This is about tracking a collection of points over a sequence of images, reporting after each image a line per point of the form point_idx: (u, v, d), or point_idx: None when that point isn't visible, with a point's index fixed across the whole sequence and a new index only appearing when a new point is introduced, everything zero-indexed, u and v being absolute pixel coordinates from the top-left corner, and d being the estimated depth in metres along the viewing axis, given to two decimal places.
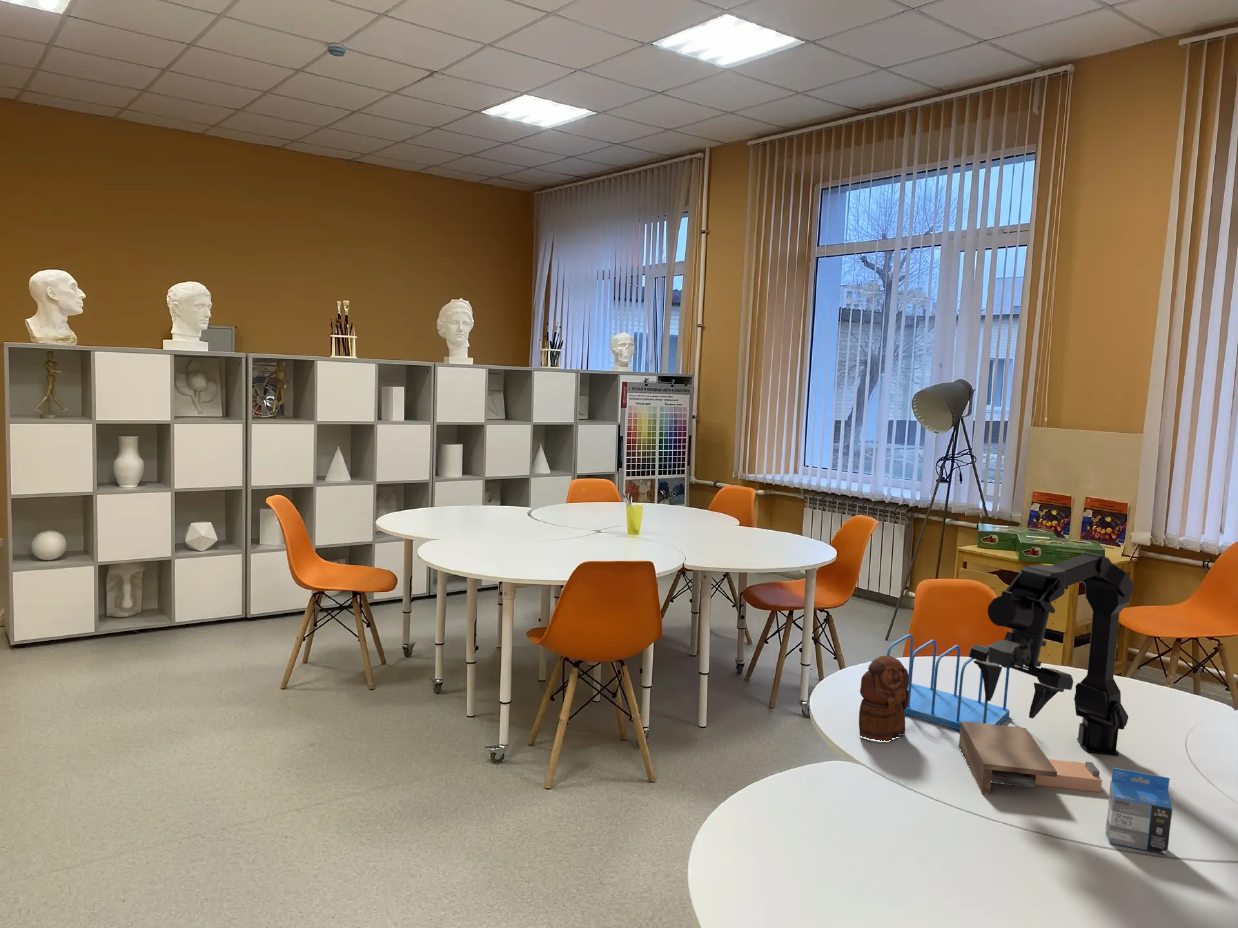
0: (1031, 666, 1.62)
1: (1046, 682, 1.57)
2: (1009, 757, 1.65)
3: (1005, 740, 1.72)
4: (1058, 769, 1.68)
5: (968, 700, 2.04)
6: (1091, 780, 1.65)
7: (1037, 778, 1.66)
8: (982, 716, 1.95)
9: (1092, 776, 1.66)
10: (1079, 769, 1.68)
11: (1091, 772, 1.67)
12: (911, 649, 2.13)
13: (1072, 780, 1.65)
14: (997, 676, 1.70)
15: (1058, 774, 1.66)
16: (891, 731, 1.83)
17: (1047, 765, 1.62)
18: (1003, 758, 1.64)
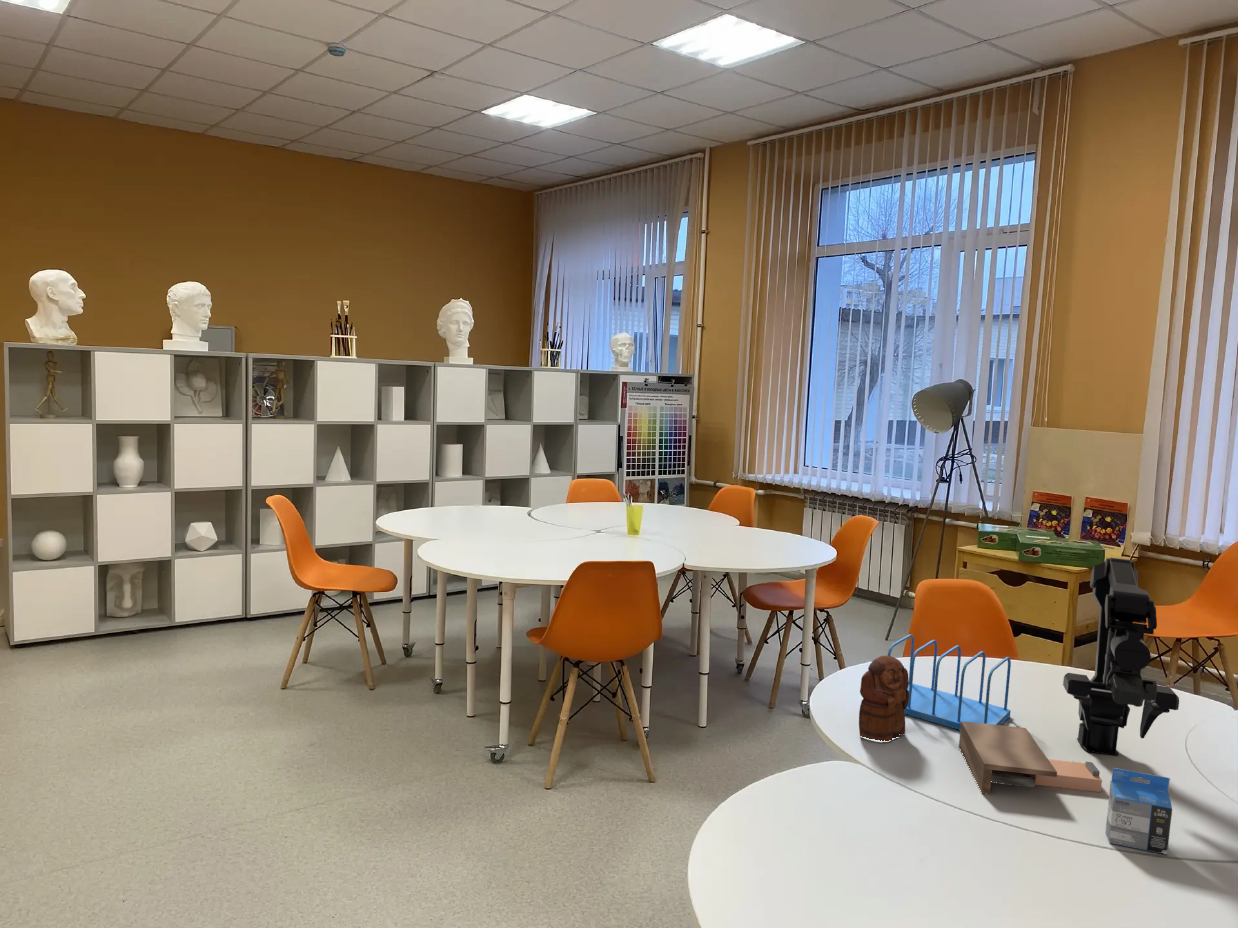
0: None
1: (1168, 706, 1.58)
2: (1009, 757, 1.65)
3: (1005, 740, 1.72)
4: (1058, 769, 1.68)
5: (969, 700, 2.04)
6: (1091, 780, 1.65)
7: (1037, 778, 1.66)
8: (983, 716, 1.94)
9: (1092, 776, 1.66)
10: (1079, 769, 1.68)
11: (1091, 772, 1.67)
12: (912, 649, 2.13)
13: (1072, 780, 1.65)
14: None
15: (1058, 774, 1.66)
16: (891, 731, 1.83)
17: (1047, 765, 1.62)
18: (1003, 758, 1.64)
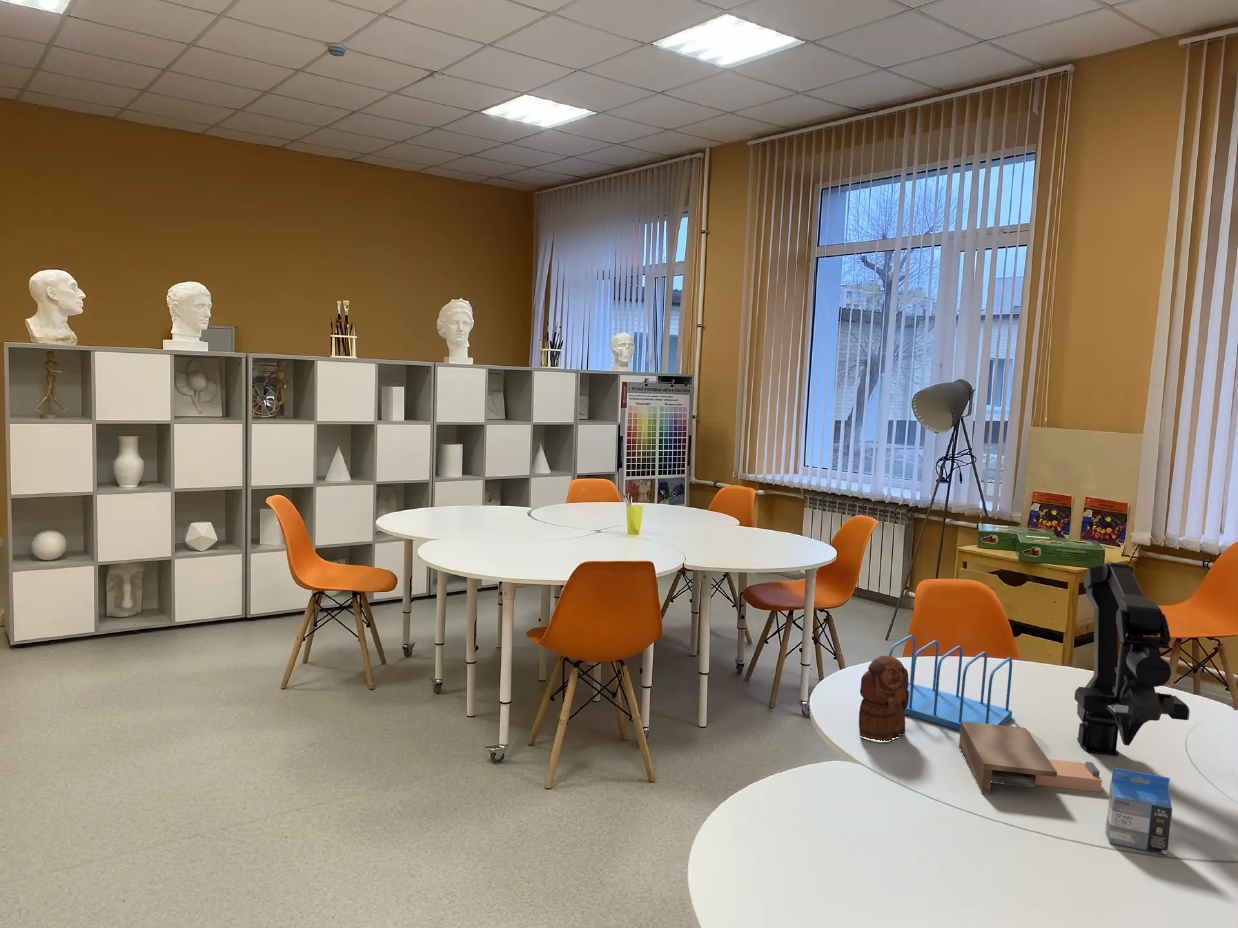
0: None
1: (1179, 717, 1.61)
2: (1009, 757, 1.65)
3: (1005, 740, 1.72)
4: (1058, 769, 1.68)
5: (970, 701, 2.04)
6: (1091, 780, 1.65)
7: (1037, 778, 1.66)
8: (984, 717, 1.94)
9: (1092, 776, 1.66)
10: (1079, 769, 1.68)
11: (1091, 772, 1.67)
12: (913, 650, 2.13)
13: (1072, 780, 1.65)
14: None
15: (1058, 774, 1.66)
16: (891, 731, 1.83)
17: (1047, 765, 1.62)
18: (1003, 758, 1.64)
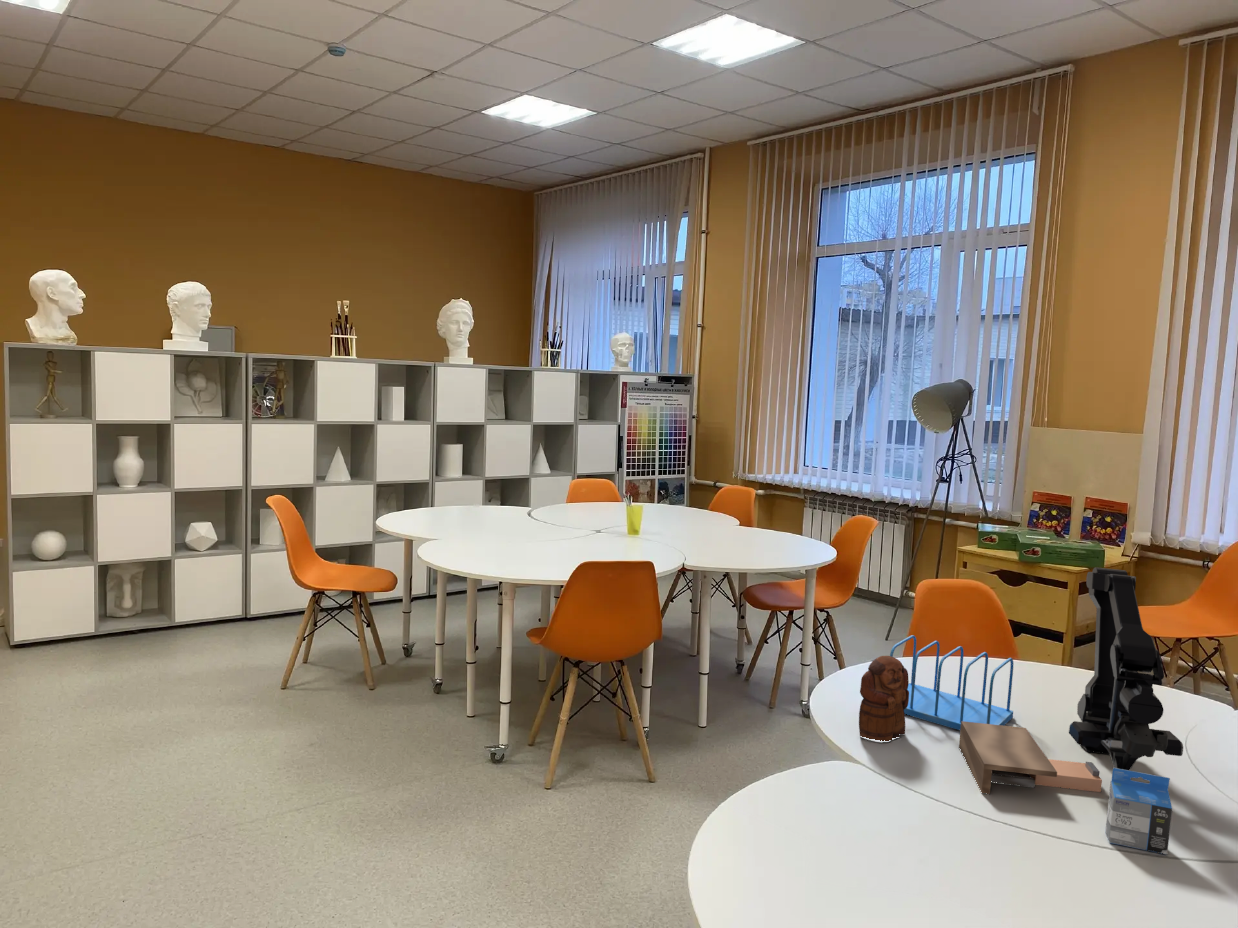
0: None
1: (1173, 753, 1.62)
2: (1009, 757, 1.65)
3: (1005, 740, 1.72)
4: (1058, 769, 1.68)
5: (971, 701, 2.04)
6: (1091, 780, 1.65)
7: (1037, 778, 1.66)
8: (986, 717, 1.94)
9: (1092, 776, 1.66)
10: (1079, 769, 1.68)
11: (1091, 772, 1.67)
12: (914, 650, 2.12)
13: (1072, 780, 1.65)
14: None
15: (1058, 774, 1.66)
16: (891, 731, 1.83)
17: (1047, 765, 1.62)
18: (1003, 758, 1.64)
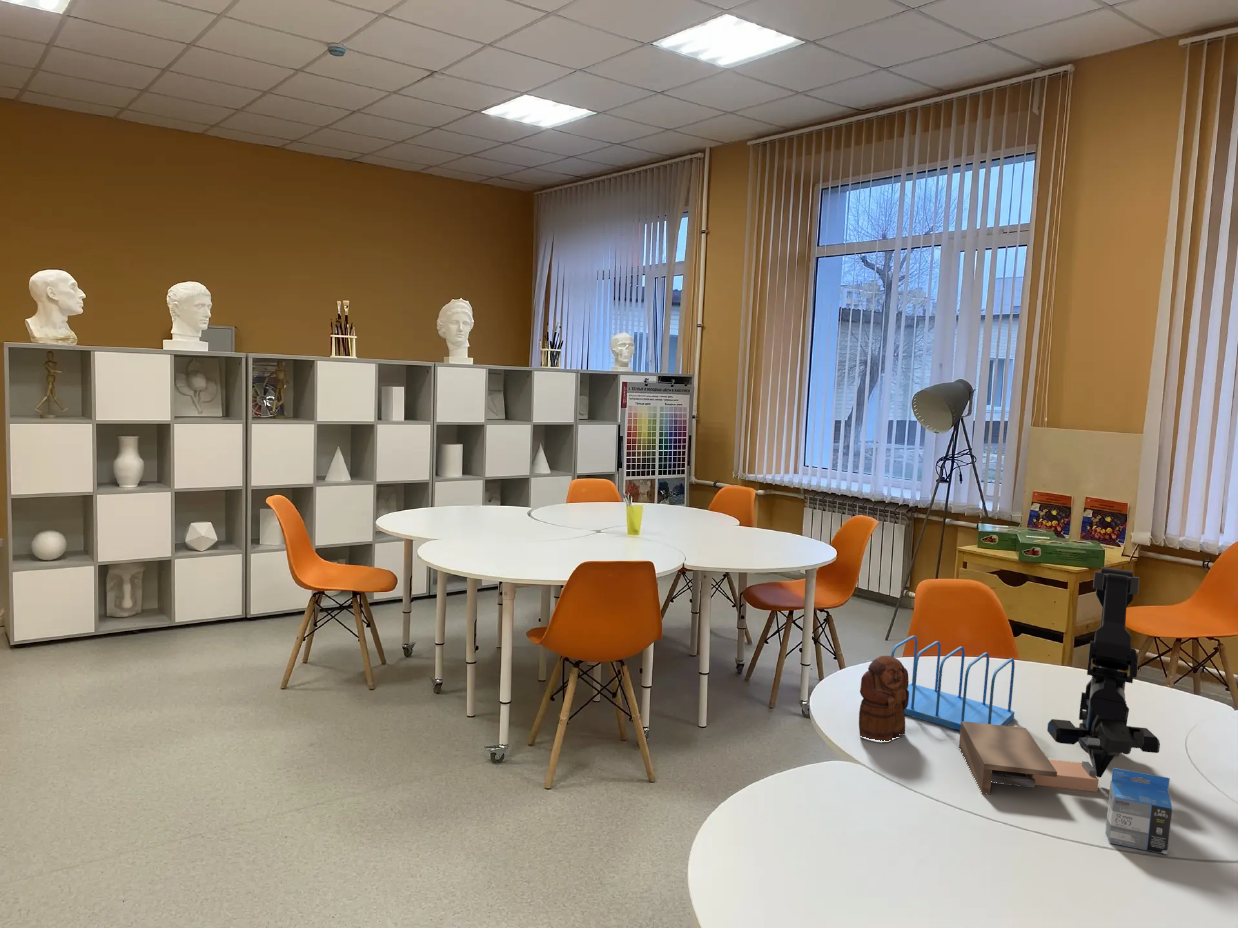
0: None
1: (1150, 750, 1.63)
2: (1009, 757, 1.65)
3: (1005, 740, 1.72)
4: (1055, 769, 1.68)
5: (972, 701, 2.03)
6: (1088, 780, 1.65)
7: (1034, 778, 1.66)
8: (987, 718, 1.94)
9: (1089, 776, 1.66)
10: (1075, 769, 1.68)
11: (1088, 772, 1.67)
12: (915, 650, 2.12)
13: (1069, 780, 1.65)
14: None
15: None
16: (891, 731, 1.83)
17: (1047, 765, 1.62)
18: (1003, 758, 1.64)
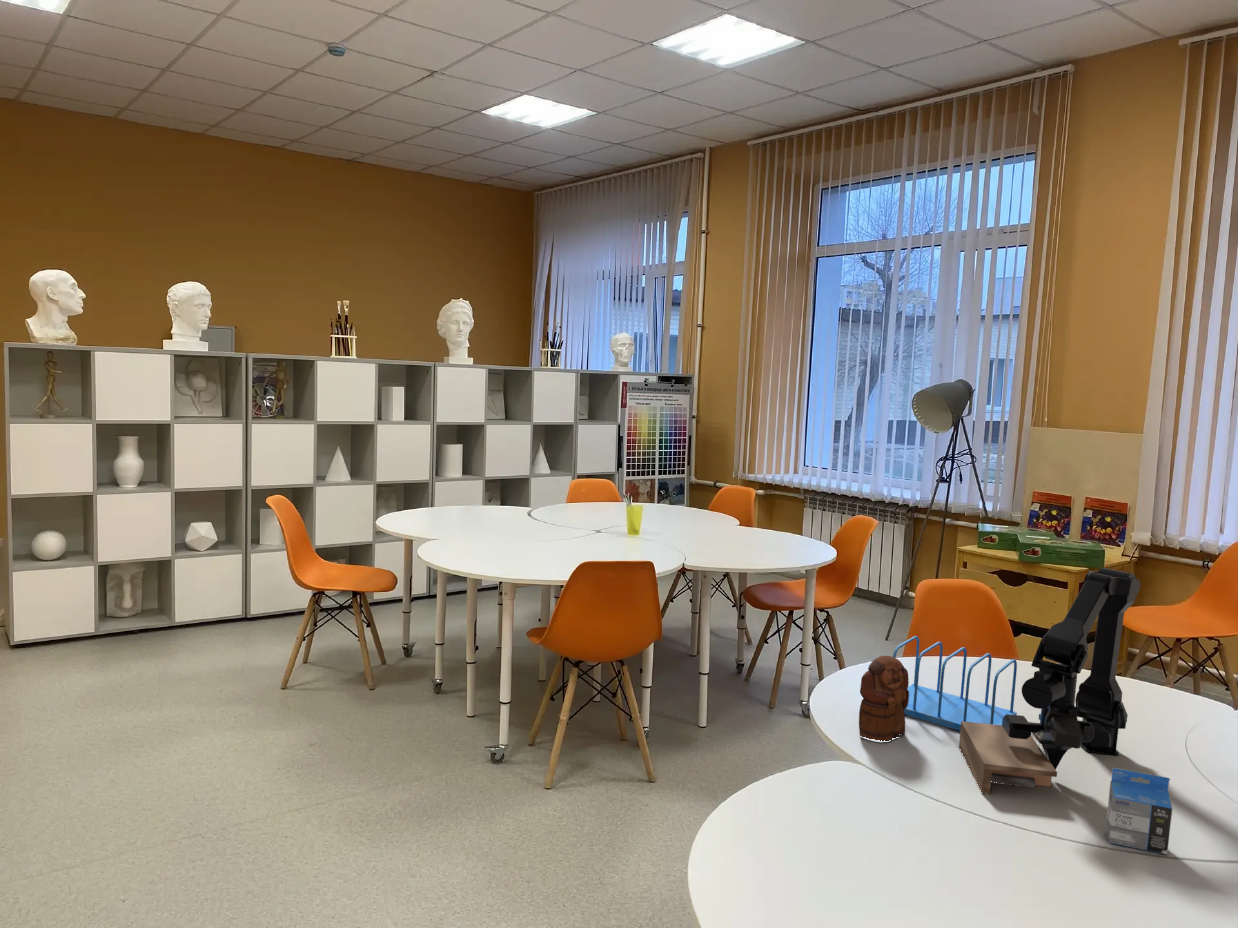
0: None
1: (1101, 744, 1.64)
2: (1009, 757, 1.65)
3: (1005, 740, 1.72)
4: None
5: (975, 702, 2.03)
6: None
7: None
8: (989, 719, 1.93)
9: None
10: None
11: None
12: (917, 651, 2.12)
13: (1023, 775, 1.67)
14: None
15: None
16: (891, 731, 1.83)
17: (1047, 765, 1.62)
18: (1003, 758, 1.64)
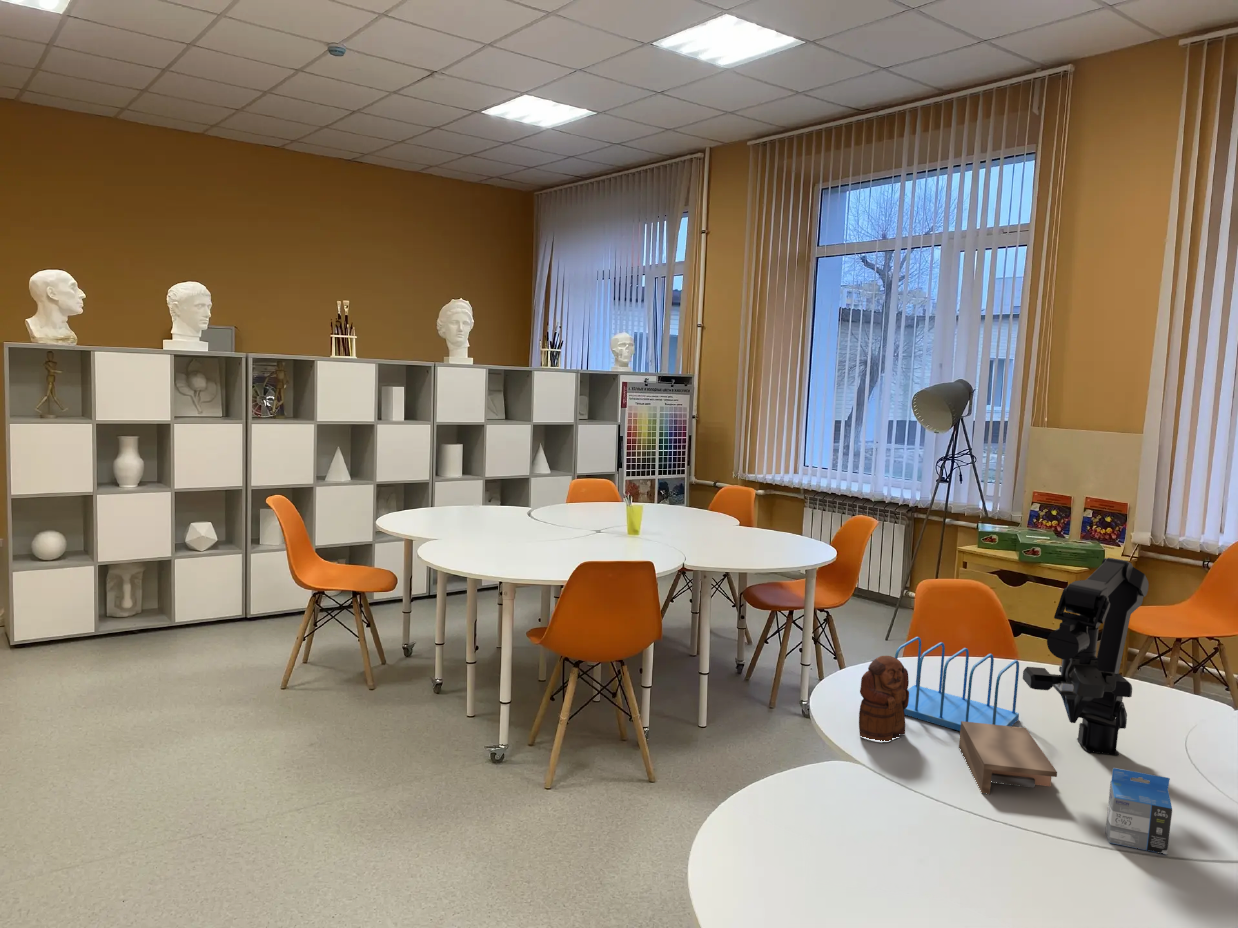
0: None
1: (1122, 694, 1.65)
2: (1009, 757, 1.65)
3: (1005, 740, 1.72)
4: None
5: (977, 703, 2.02)
6: None
7: None
8: (991, 720, 1.93)
9: None
10: None
11: None
12: (919, 652, 2.11)
13: (1023, 775, 1.67)
14: None
15: None
16: (891, 731, 1.83)
17: (1047, 765, 1.62)
18: (1003, 758, 1.64)
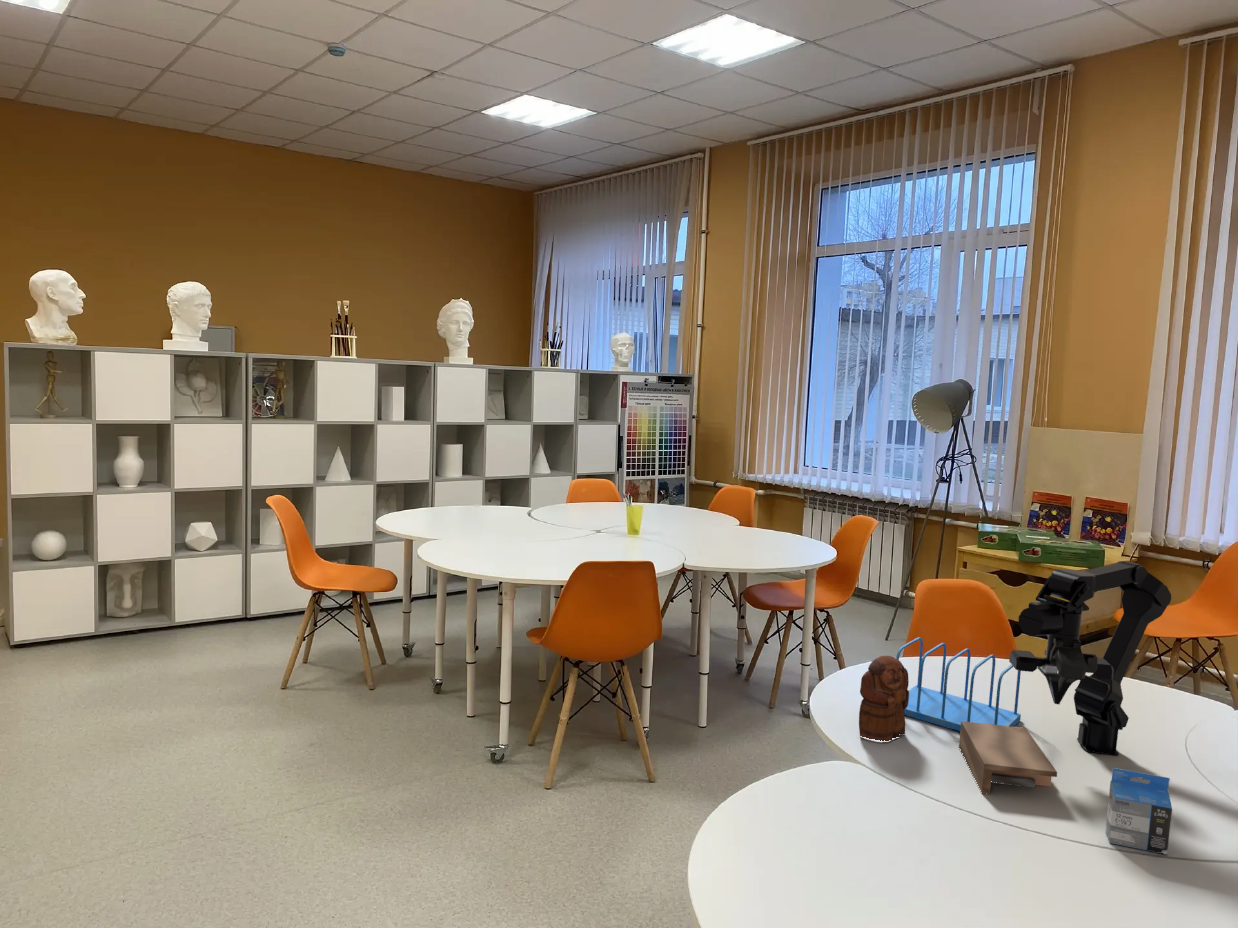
0: None
1: (1104, 676, 1.72)
2: (1009, 757, 1.65)
3: (1005, 740, 1.72)
4: None
5: (978, 704, 2.02)
6: None
7: None
8: (993, 720, 1.92)
9: None
10: None
11: None
12: (921, 652, 2.11)
13: (1023, 775, 1.67)
14: None
15: None
16: (891, 731, 1.83)
17: (1047, 765, 1.62)
18: (1003, 758, 1.64)
